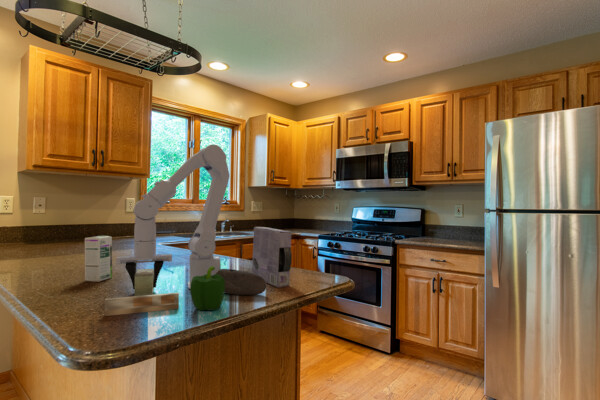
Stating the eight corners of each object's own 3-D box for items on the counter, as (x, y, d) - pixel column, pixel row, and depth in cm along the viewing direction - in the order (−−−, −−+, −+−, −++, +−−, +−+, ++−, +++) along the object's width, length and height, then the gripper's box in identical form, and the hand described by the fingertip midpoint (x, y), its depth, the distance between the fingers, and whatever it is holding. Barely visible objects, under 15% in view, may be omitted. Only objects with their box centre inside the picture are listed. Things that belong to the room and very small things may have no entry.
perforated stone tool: (269, 293, 97) (269, 269, 97) (262, 299, 92) (262, 273, 92) (222, 290, 101) (222, 266, 101) (213, 294, 96) (213, 270, 96)
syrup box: (99, 281, 110) (99, 237, 110) (84, 281, 111) (84, 237, 111) (112, 278, 116) (112, 235, 116) (97, 277, 117) (98, 235, 117)
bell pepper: (207, 316, 78) (207, 272, 78) (183, 309, 82) (183, 268, 82) (232, 306, 85) (233, 266, 85) (209, 301, 89) (210, 263, 89)
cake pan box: (292, 286, 105) (293, 230, 105) (279, 288, 102) (279, 230, 102) (263, 275, 121) (264, 226, 121) (251, 277, 118) (251, 226, 118)
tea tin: (137, 289, 100) (137, 269, 100) (154, 288, 102) (154, 268, 102) (134, 297, 93) (134, 275, 93) (152, 295, 94) (152, 273, 94)
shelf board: (178, 296, 93) (178, 283, 93) (178, 308, 83) (178, 293, 83) (112, 302, 87) (112, 288, 87) (104, 316, 77) (104, 300, 77)
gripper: (172, 238, 104) (171, 282, 104) (119, 240, 99) (118, 286, 99) (171, 240, 97) (171, 287, 97) (115, 242, 92) (114, 292, 92)
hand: (144, 287), depth 97 cm, fingers closed on tea tin, 5 cm apart
